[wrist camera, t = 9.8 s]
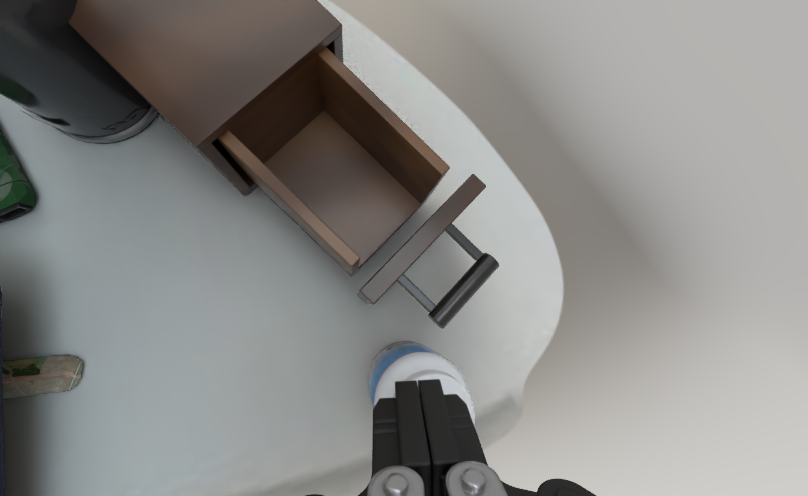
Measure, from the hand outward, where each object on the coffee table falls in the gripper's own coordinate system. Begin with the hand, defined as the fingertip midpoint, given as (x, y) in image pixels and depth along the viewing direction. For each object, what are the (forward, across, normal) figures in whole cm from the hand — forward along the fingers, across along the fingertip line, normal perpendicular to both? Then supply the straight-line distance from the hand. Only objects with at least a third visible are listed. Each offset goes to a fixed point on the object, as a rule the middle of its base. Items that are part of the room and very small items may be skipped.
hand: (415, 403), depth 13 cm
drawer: (+21, +2, -2) cm, 21 cm away
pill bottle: (+17, -1, +10) cm, 20 cm away
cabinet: (+26, +13, -13) cm, 32 cm away
